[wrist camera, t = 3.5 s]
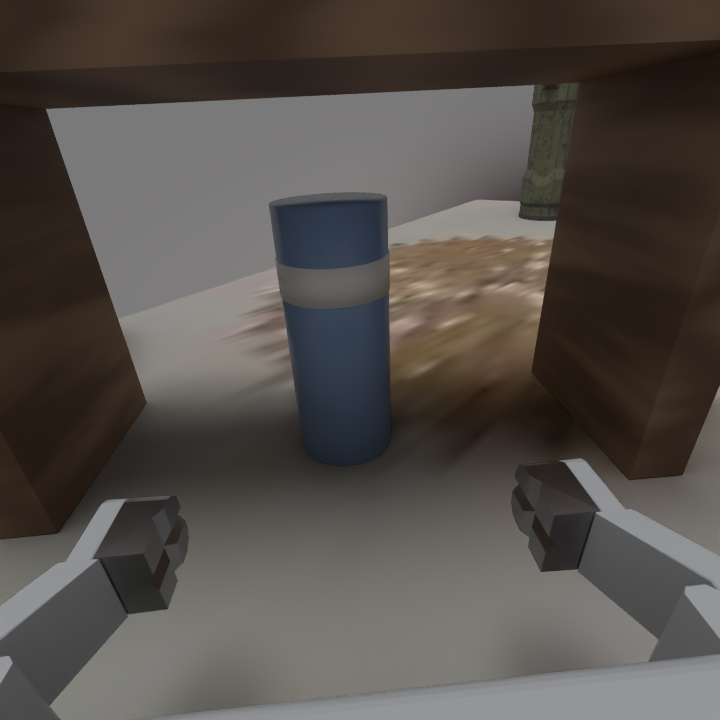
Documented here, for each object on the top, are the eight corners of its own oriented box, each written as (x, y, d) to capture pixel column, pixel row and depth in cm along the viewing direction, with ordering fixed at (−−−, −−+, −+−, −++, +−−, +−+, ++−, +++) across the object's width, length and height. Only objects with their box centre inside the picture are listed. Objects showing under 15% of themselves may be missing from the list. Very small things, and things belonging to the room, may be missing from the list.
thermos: (507, 219, 75) (536, -39, 59) (530, 210, 83) (562, -20, 67) (558, 223, 70) (606, -59, 54) (578, 212, 78) (625, -36, 62)
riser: (-4, 538, 18) (-359, 6, 9) (106, 405, 26) (-28, 71, 18) (682, 474, 19) (895, -40, 11) (568, 368, 28) (637, 42, 20)
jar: (298, 470, 20) (259, 212, 15) (303, 412, 25) (274, 196, 19) (398, 461, 21) (397, 204, 15) (385, 405, 25) (380, 190, 19)
